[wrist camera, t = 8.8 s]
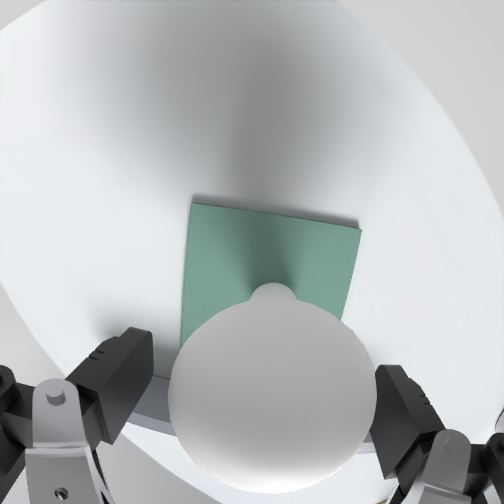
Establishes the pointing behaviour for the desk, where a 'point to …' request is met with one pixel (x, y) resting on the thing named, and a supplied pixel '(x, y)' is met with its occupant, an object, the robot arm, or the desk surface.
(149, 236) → the desk surface
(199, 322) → the pad
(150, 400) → the wall
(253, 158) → the desk surface
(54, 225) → the desk surface
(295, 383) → the lightbulb
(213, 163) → the desk surface
